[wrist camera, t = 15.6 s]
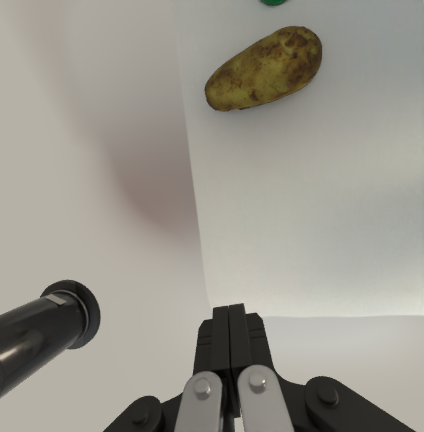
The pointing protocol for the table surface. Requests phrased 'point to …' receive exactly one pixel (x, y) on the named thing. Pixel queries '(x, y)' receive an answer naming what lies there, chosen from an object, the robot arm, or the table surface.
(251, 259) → the table surface
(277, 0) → the soda can
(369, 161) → the table surface
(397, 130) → the table surface
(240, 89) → the potato
